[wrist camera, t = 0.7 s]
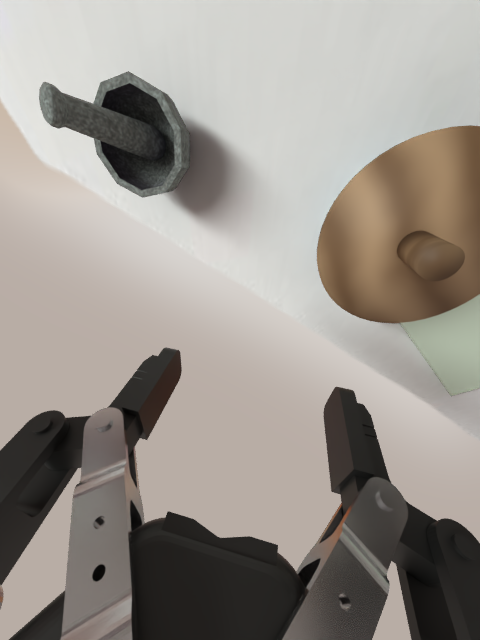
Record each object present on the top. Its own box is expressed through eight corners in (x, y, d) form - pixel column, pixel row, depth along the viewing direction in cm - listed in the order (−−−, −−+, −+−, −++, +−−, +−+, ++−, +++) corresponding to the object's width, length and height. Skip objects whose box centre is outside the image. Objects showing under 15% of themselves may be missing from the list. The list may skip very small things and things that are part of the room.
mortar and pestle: (215, 123, 26) (170, 96, 16) (191, 204, 31) (146, 221, 22) (124, 68, 25) (16, 4, 15) (115, 162, 30) (31, 159, 20)
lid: (496, 55, 16) (580, 9, 11) (561, 255, 22) (635, 279, 17) (283, 235, 26) (281, 251, 21) (367, 342, 31) (381, 373, 27)
